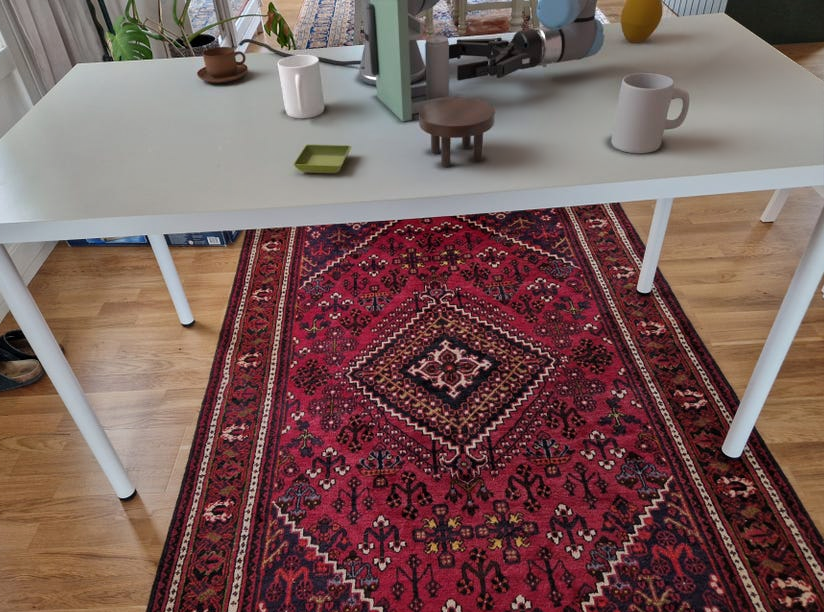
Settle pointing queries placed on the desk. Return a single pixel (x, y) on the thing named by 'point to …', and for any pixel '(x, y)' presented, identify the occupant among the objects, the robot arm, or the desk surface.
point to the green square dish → (322, 158)
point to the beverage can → (437, 67)
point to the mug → (645, 112)
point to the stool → (456, 125)
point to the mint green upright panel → (395, 56)
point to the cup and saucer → (222, 65)
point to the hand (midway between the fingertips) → (444, 63)
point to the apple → (640, 18)
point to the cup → (301, 86)
